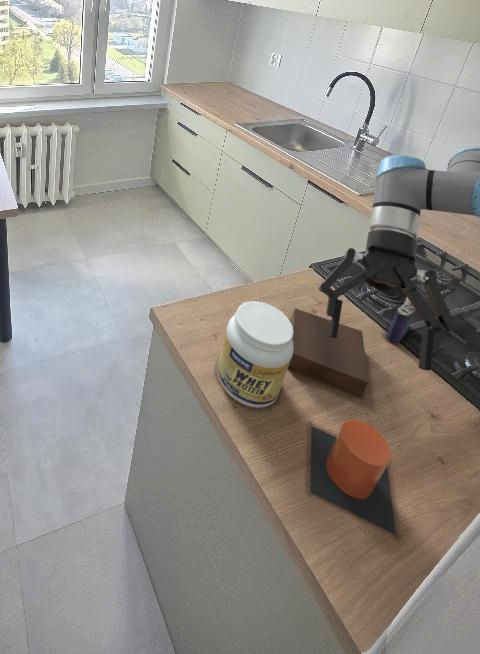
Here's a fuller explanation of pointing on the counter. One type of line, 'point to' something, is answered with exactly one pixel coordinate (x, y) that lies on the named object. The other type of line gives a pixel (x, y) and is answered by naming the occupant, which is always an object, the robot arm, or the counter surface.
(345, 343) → the walnut block
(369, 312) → the counter surface
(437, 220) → the counter surface
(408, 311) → the flask
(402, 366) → the counter surface
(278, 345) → the supplement tub
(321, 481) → the mat
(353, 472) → the canister
